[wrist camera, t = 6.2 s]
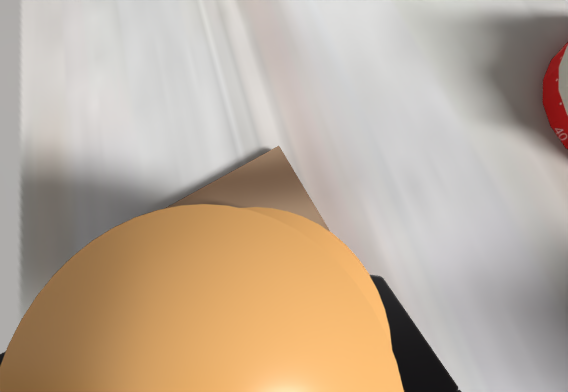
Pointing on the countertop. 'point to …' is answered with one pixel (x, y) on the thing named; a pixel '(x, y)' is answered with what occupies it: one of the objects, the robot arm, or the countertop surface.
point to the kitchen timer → (557, 94)
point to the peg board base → (259, 188)
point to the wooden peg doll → (206, 311)
